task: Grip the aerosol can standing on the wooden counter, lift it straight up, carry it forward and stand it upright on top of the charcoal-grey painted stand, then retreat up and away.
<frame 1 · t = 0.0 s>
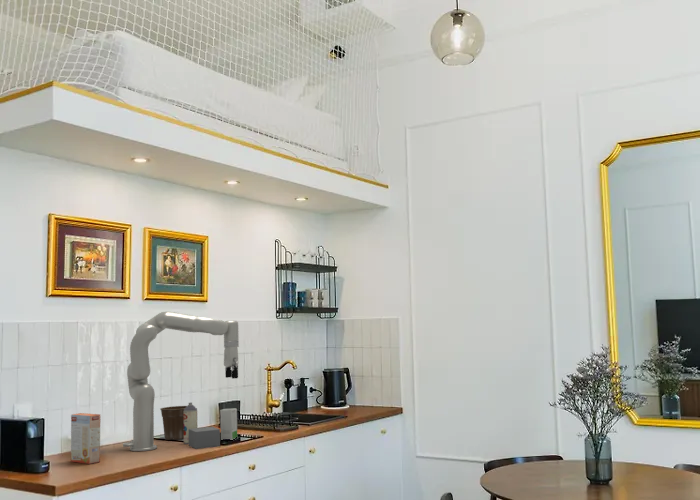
hand: (231, 377, 367), 31 cm above the worktop, tool pointing down, fingers open, 9 cm apart
stand: (204, 445, 347), on the worktop
cracker box: (85, 462, 314), on the worktop
aerosol can: (190, 443, 356), on the worktop
plant pot: (176, 438, 373), on the worktop
skincare box: (228, 440, 363), on the worktop
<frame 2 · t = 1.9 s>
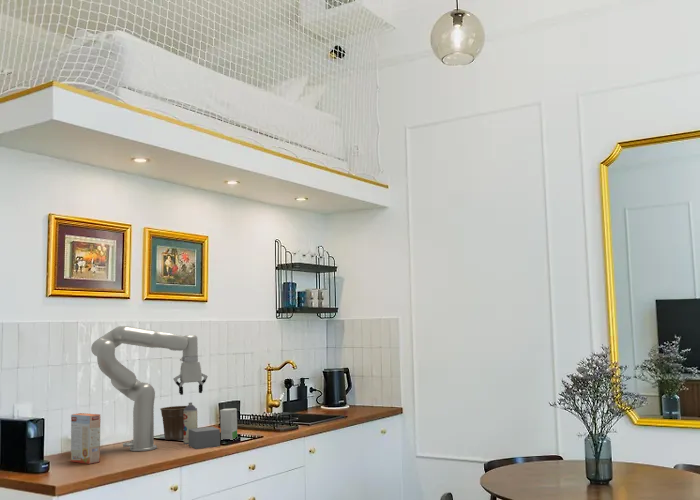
hand: (191, 393, 359), 24 cm above the worktop, tool pointing down, fingers open, 9 cm apart
nothing on the worktop moved.
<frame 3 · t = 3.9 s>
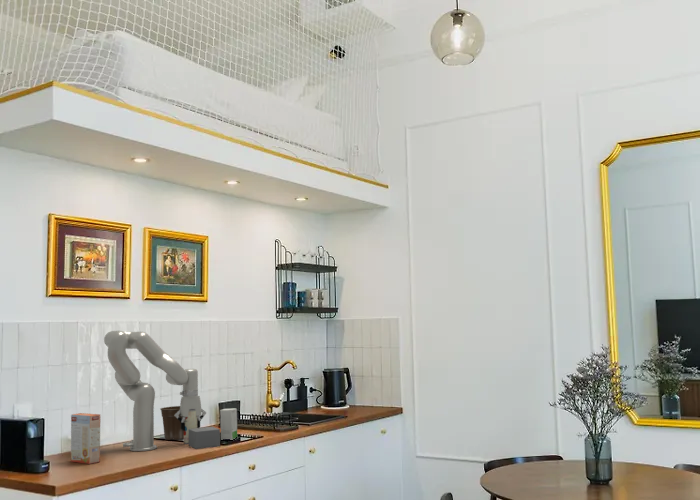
hand: (190, 429, 357), 7 cm above the worktop, tool pointing down, fingers closed on aerosol can, 6 cm apart
aerosol can: (190, 443, 356), on the worktop, touching gripper
everything else where it was.
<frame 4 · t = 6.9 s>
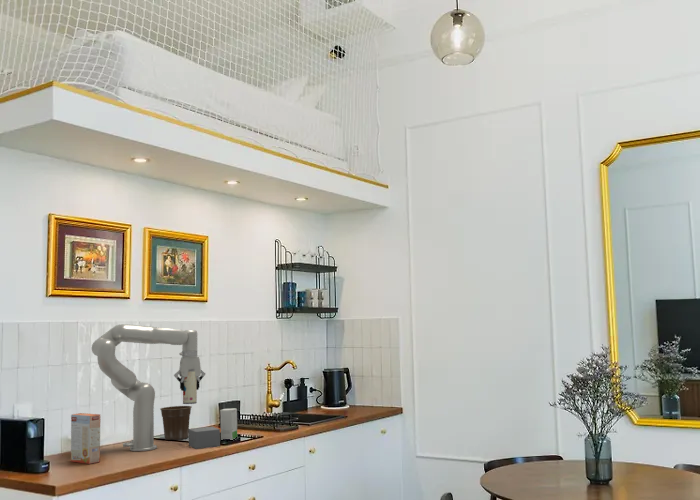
hand: (189, 389, 359), 26 cm above the worktop, tool pointing down, fingers closed on aerosol can, 6 cm apart
aerosol can: (189, 403, 358), point 19 cm above the worktop, touching gripper
everything else where it was.
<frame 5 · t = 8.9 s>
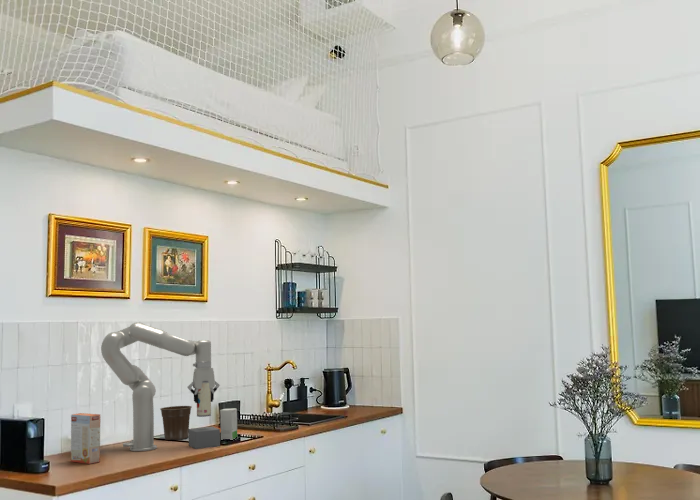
hand: (203, 401, 349), 21 cm above the worktop, tool pointing down, fingers closed on aerosol can, 6 cm apart
aerosol can: (203, 416, 348), point 14 cm above the worktop, touching gripper
everything else where it was.
when the fingers open (16 cm above the worktop, at t = 10.2 s): aerosol can drops 1 cm, resting on stand.
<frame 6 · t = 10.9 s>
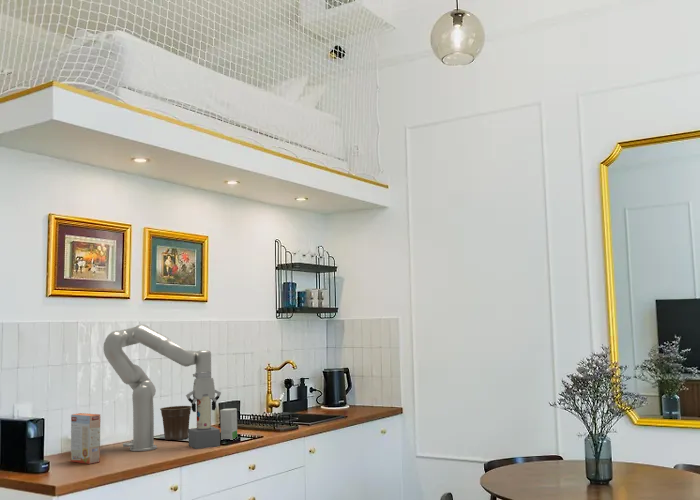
hand: (203, 410, 348), 17 cm above the worktop, tool pointing down, fingers open, 9 cm apart
aerosol can: (203, 429, 347), point 8 cm above the worktop, touching stand
everything else where it was.
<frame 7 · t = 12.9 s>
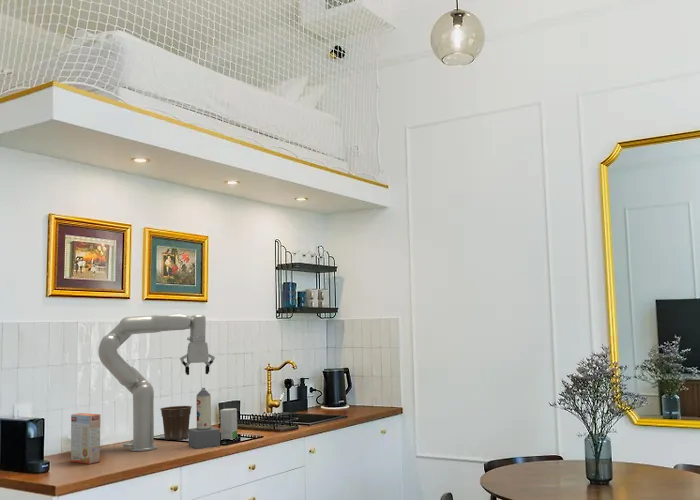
hand: (197, 374, 353), 34 cm above the worktop, tool pointing down, fingers open, 9 cm apart
nothing on the worktop moved.
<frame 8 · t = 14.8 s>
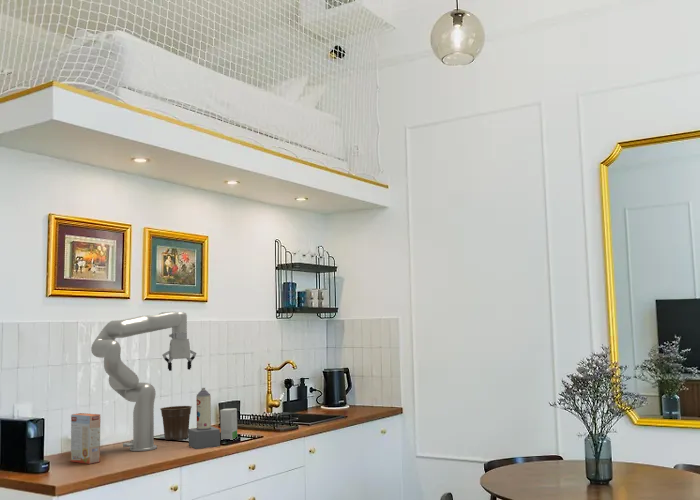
hand: (179, 370, 363), 36 cm above the worktop, tool pointing down, fingers open, 9 cm apart
nothing on the worktop moved.
at the end: aerosol can inside the target area on the stand (0.1 cm from its centre), point 7.8 cm above the stand's base; aerosol can tilted 0°; the gripper is holding nothing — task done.
